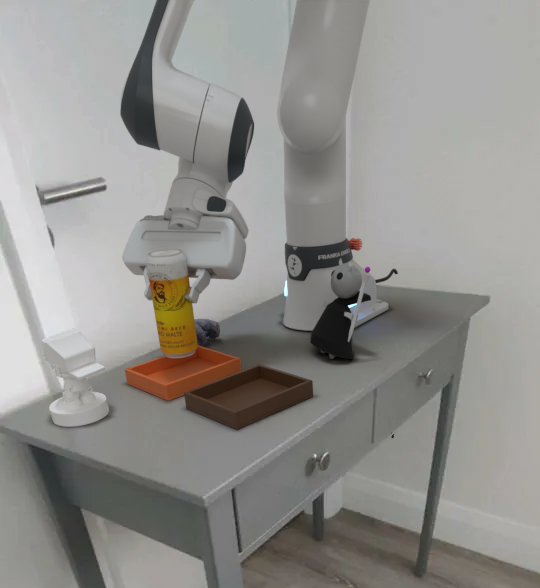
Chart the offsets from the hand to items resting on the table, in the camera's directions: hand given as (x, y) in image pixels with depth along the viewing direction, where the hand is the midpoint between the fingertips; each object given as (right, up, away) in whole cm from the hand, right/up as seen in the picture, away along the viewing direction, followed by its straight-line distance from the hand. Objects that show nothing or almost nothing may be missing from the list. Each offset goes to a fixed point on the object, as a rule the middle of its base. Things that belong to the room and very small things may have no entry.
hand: (170, 299), depth 100 cm
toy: (+28, -4, +12) cm, 31 cm away
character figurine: (-13, -18, -1) cm, 23 cm away
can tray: (+1, -9, +8) cm, 13 cm away
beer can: (+1, -6, +6) cm, 9 cm away
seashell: (+2, +1, +22) cm, 22 cm away
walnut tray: (+12, -17, -2) cm, 21 cm away
